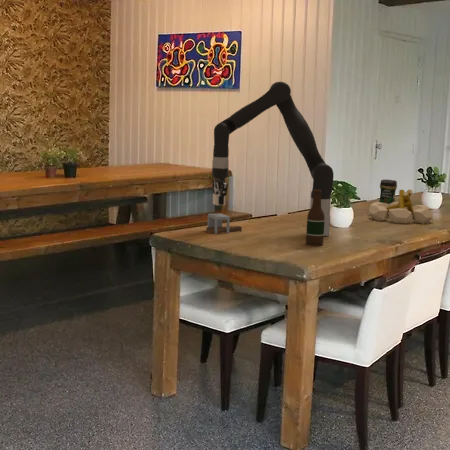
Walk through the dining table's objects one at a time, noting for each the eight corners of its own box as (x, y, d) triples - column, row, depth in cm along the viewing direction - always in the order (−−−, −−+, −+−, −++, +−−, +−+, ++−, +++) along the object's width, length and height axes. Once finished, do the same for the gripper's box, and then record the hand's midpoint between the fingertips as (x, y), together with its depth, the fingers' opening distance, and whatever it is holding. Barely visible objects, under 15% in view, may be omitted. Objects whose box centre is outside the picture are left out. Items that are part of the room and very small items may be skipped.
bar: (241, 232, 320) (241, 226, 320) (208, 233, 313) (208, 228, 312) (238, 231, 323) (239, 225, 322) (206, 232, 315) (206, 227, 315)
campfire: (435, 226, 355) (438, 194, 352) (369, 222, 360) (371, 190, 357) (427, 216, 389) (429, 186, 386) (366, 213, 394) (368, 183, 391)
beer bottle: (302, 242, 298) (305, 188, 294) (317, 242, 301) (321, 188, 297) (310, 246, 291) (313, 190, 287) (326, 245, 294) (330, 190, 290)
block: (225, 205, 314) (225, 195, 314) (216, 205, 313) (216, 195, 312) (221, 203, 318) (221, 194, 318) (212, 203, 317) (212, 194, 316)
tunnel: (229, 233, 315) (229, 216, 313) (215, 233, 312) (215, 217, 310) (221, 229, 323) (221, 213, 322) (207, 230, 321) (207, 213, 319)
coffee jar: (376, 210, 403) (378, 179, 399) (380, 209, 409) (382, 178, 406) (392, 212, 398) (394, 180, 395) (396, 210, 405) (398, 179, 401)
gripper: (207, 165, 317) (205, 201, 320) (218, 168, 305) (217, 206, 308) (221, 165, 320) (220, 201, 323) (234, 168, 308) (232, 205, 310)
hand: (219, 203), depth 315 cm, fingers closed on block, 4 cm apart
